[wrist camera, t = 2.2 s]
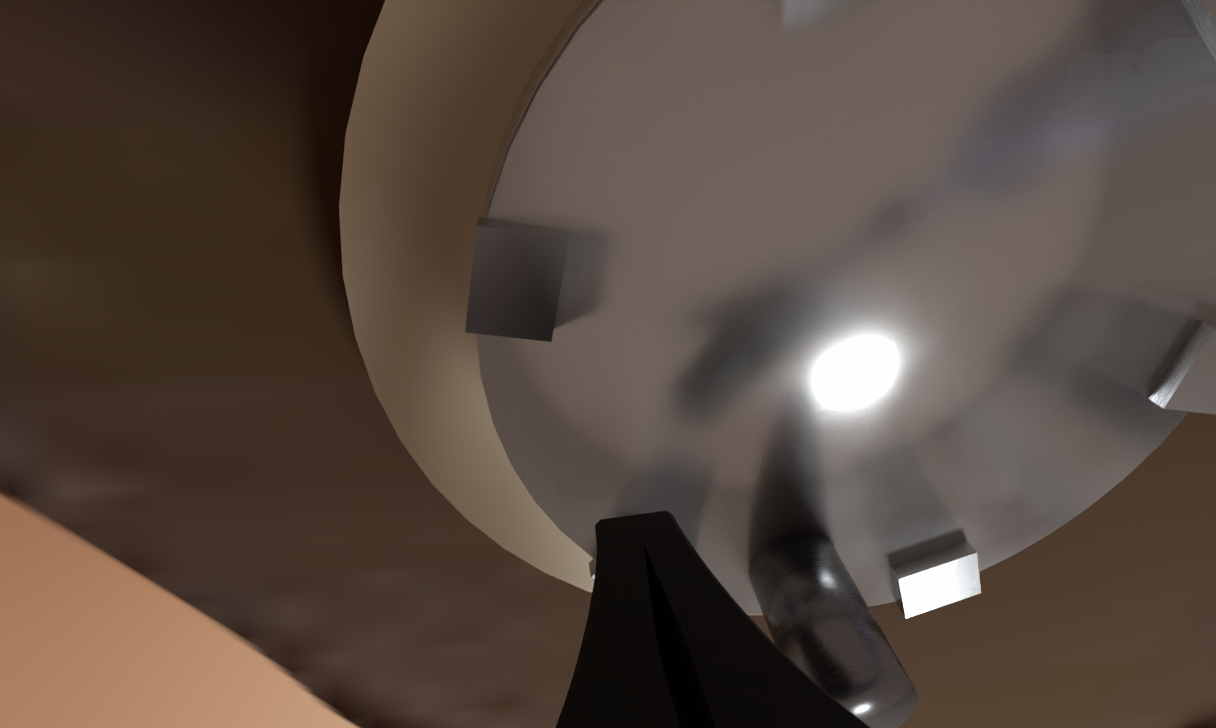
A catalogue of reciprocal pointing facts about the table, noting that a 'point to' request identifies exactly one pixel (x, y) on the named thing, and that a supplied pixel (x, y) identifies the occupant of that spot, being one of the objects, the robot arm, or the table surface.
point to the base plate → (441, 244)
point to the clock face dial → (850, 289)
